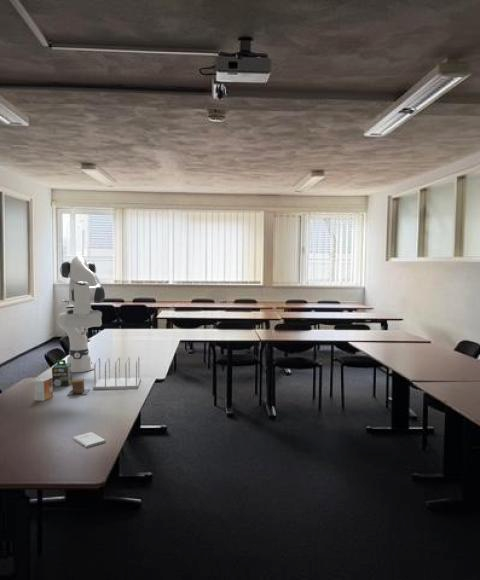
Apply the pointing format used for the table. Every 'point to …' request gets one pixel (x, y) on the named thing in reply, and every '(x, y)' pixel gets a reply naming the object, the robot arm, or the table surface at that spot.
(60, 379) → the chalk box
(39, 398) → the small box
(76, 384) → the cardboard cube
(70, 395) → the grey square peg stand
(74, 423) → the table surface
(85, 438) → the external hard drive
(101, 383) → the file sorter
